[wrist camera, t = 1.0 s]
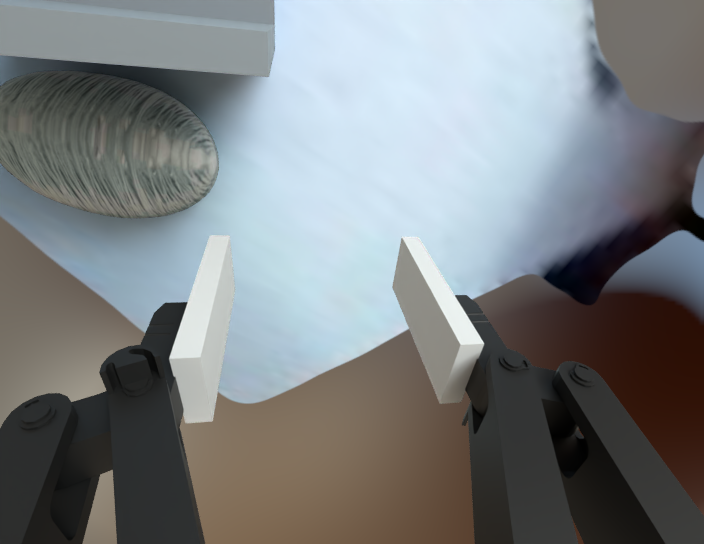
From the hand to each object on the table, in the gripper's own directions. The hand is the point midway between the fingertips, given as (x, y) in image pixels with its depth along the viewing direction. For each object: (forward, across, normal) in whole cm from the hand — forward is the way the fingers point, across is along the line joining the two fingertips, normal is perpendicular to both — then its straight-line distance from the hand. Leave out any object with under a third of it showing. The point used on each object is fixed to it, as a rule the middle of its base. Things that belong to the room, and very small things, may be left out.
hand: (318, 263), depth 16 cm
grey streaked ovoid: (+19, -13, 0) cm, 23 cm away
